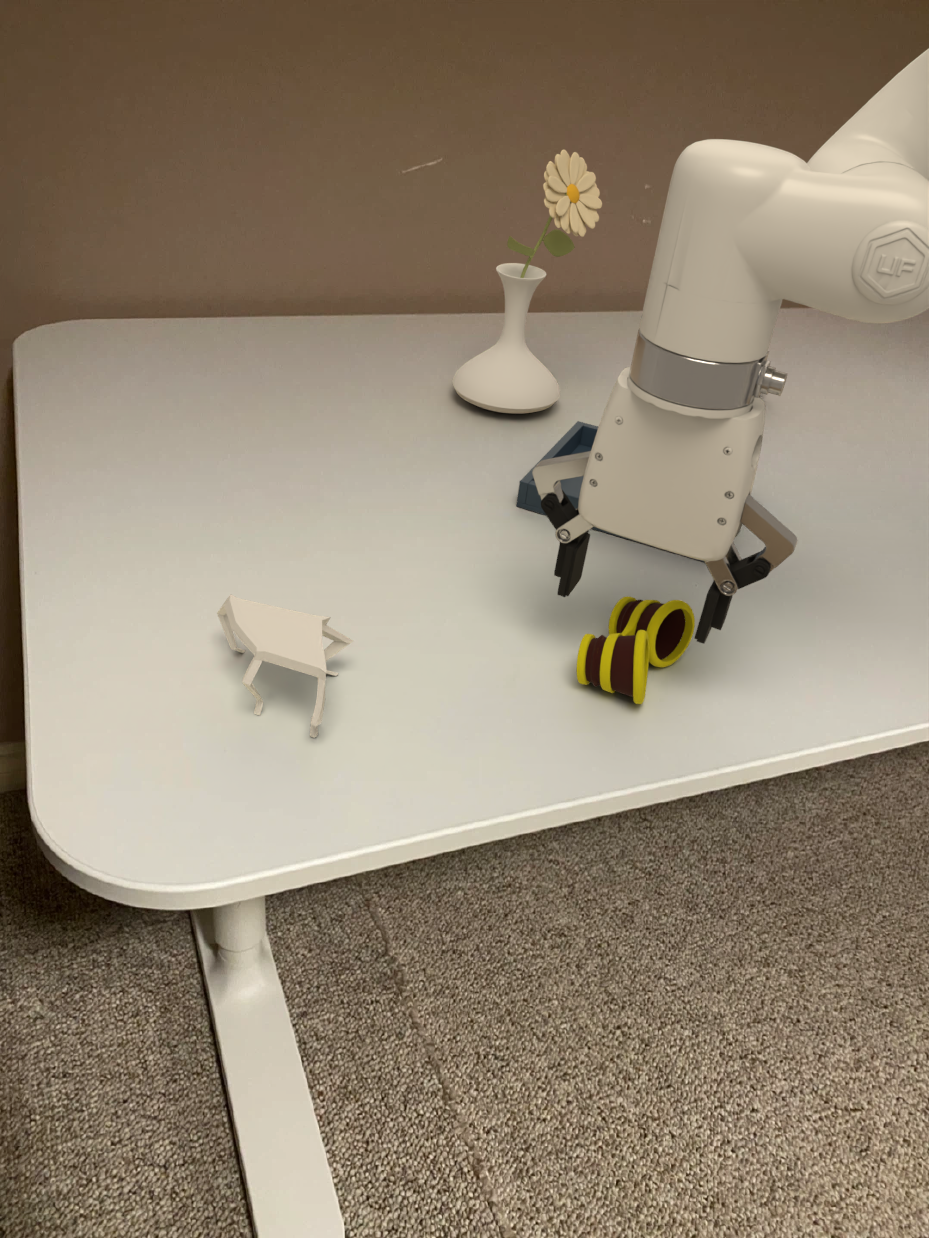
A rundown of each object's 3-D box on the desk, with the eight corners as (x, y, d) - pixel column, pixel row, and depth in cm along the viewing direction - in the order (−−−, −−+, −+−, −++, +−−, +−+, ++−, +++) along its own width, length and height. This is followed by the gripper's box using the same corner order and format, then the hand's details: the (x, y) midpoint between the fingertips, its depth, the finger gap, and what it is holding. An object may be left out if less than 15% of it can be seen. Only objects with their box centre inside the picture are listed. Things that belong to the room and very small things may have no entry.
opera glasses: (627, 637, 81) (627, 578, 79) (695, 652, 78) (697, 591, 76) (569, 700, 74) (567, 637, 72) (641, 719, 71) (641, 654, 69)
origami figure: (388, 686, 72) (392, 625, 69) (311, 754, 66) (313, 690, 63) (246, 622, 76) (245, 563, 74) (162, 679, 70) (158, 617, 67)
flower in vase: (478, 428, 108) (509, 163, 94) (433, 384, 116) (456, 134, 102) (590, 418, 113) (636, 165, 99) (540, 376, 121) (576, 137, 107)
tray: (748, 492, 102) (755, 468, 101) (711, 564, 90) (718, 538, 89) (573, 444, 107) (577, 420, 106) (515, 506, 95) (519, 481, 94)
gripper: (850, 388, 64) (770, 624, 74) (578, 318, 69) (536, 548, 79) (833, 431, 59) (749, 680, 68) (537, 351, 63) (497, 595, 73)
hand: (635, 609), depth 73 cm, fingers open, 9 cm apart
